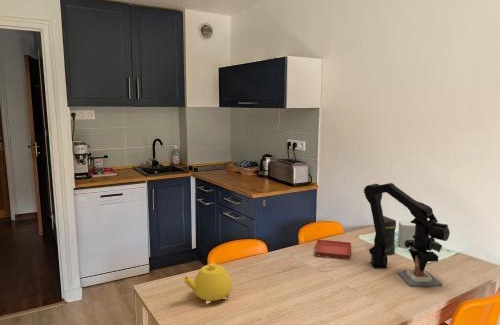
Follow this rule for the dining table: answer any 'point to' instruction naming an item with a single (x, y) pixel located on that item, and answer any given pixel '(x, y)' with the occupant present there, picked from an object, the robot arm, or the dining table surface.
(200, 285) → the teapot
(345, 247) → the plant saucer
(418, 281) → the board
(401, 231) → the supplement box
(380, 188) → the robot arm
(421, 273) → the terracotta pin
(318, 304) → the dining table surface
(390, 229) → the coffee jar
